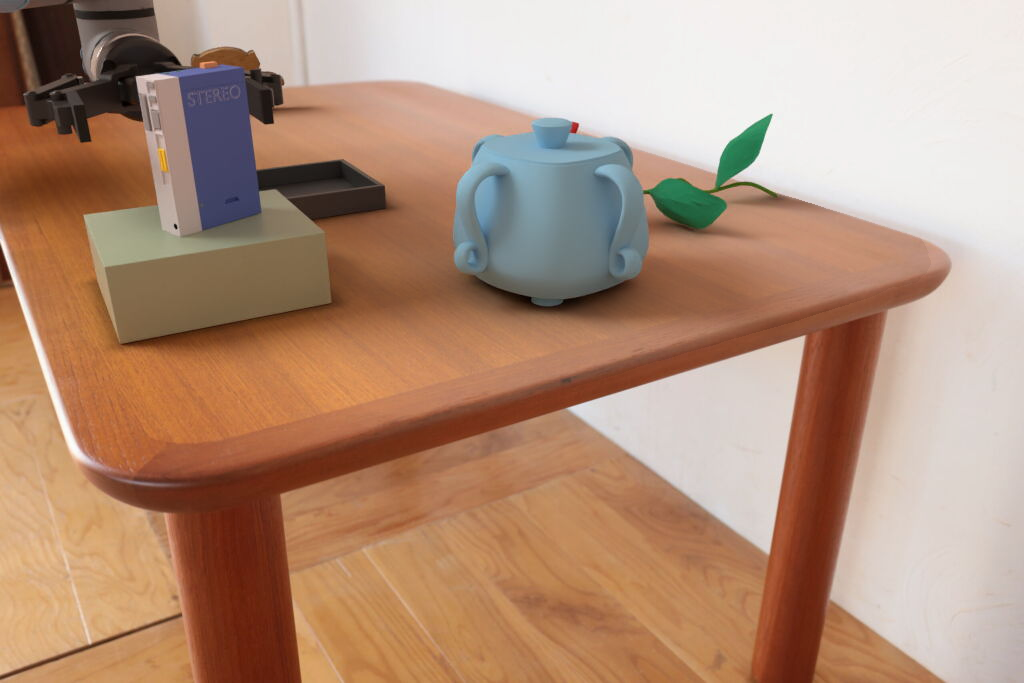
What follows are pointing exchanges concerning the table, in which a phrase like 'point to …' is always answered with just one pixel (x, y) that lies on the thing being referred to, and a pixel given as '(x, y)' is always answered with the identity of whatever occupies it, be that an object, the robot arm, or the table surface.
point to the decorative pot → (550, 213)
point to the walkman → (200, 146)
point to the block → (206, 268)
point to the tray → (324, 188)
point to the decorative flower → (701, 205)
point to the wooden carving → (229, 58)
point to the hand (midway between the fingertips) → (179, 115)
